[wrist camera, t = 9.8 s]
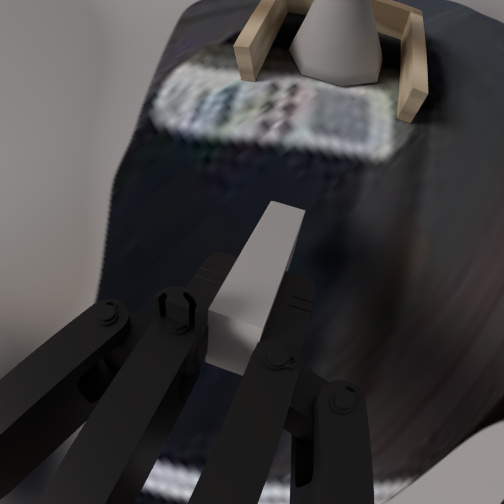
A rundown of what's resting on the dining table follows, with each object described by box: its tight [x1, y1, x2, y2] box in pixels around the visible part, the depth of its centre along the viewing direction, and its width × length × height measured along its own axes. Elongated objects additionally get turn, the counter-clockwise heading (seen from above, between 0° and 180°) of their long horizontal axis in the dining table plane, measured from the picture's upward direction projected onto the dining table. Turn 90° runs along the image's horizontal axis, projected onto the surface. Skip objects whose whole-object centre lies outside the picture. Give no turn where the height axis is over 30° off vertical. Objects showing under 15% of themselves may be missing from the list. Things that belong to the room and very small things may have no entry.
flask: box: [289, 0, 383, 86], centre depth 13 cm, size 7×7×10 cm
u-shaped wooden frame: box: [234, 0, 428, 123], centre depth 16 cm, size 11×12×4 cm
